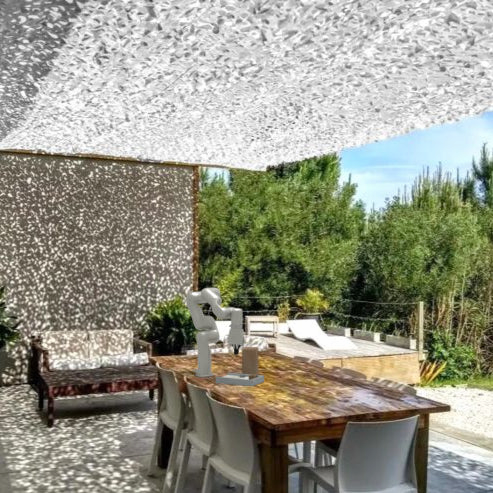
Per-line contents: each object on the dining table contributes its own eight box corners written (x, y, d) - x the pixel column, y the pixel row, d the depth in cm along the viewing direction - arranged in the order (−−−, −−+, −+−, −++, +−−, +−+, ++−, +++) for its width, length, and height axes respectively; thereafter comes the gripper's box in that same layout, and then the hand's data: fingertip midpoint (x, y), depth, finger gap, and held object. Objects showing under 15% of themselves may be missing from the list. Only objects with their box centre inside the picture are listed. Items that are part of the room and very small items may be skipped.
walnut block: (248, 379, 416) (248, 375, 416) (251, 378, 420) (251, 374, 421) (254, 380, 415) (254, 375, 415) (257, 379, 419) (257, 374, 419)
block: (255, 377, 437) (255, 348, 438) (241, 377, 439) (241, 348, 440) (258, 375, 447) (258, 346, 448) (244, 374, 449) (244, 346, 450)
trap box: (215, 382, 419) (215, 376, 419) (228, 378, 435) (228, 372, 435) (252, 386, 407) (252, 380, 407) (263, 381, 423) (263, 375, 423)
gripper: (224, 326, 423) (223, 354, 423) (244, 328, 416) (243, 356, 416) (229, 325, 430) (229, 352, 430) (249, 327, 423) (248, 354, 423)
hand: (236, 354), depth 423 cm, fingers closed
